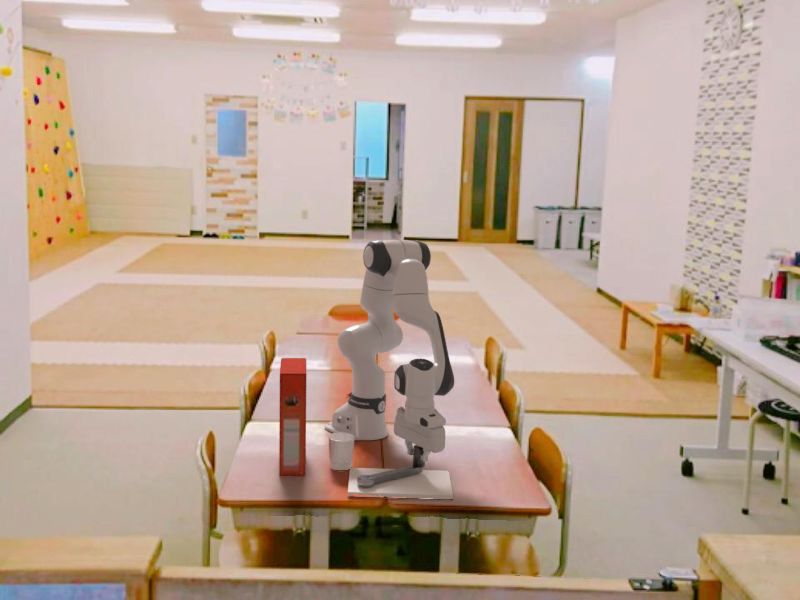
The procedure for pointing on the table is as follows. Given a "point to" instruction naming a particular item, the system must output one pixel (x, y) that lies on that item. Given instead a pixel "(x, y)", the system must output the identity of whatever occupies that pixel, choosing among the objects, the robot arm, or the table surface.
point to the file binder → (292, 417)
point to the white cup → (341, 450)
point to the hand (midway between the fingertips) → (417, 457)
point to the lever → (394, 471)
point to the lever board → (404, 484)
